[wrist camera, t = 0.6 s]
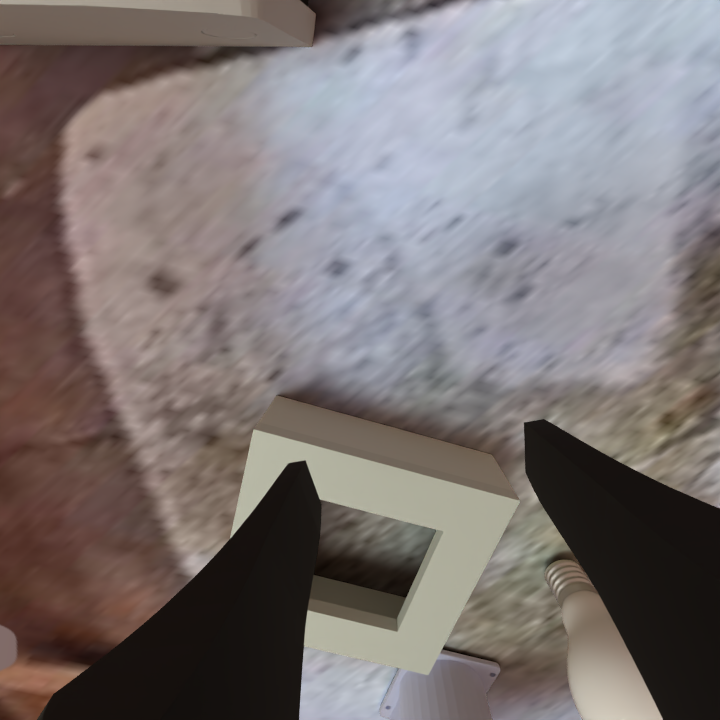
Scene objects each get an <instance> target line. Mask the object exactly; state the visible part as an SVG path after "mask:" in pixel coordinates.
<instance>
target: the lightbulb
mask: <svg viewBox="0 0 720 720" xmlns="http://www.w3.org/2000/svg"><path fill="white" fill-rule="evenodd" d="M544 577H545V580H546V581H547V584H548V585H549V587H550V589H551V591H552V592H553V595H554V596H555V598H556V600H557V602H558V604H559V606H560V608H561V610H562V619H563V623H564V626H565V629H566V632H567V636H568V651H567V676H568V682H569V687H570V691H571V694H572V697H573V700H574V703H575V705H576V708H577V710H578V712H579V714H580V716H581V718H582V720H663V718H662V716H661V714H660V712H659V710H658V708H657V706H656V704H655V702H654V700H653V698H652V696H651V694H650V692H649V690H648V688H647V686H646V684H645V682H644V680H643V678H642V676H641V674H640V672H639V670H638V668H637V666H636V664H635V662H634V660H633V658H632V656H631V654H630V653H629V651H628V649H627V647H626V645H625V643H624V641H623V639H622V637H621V635H620V633H619V631H618V629H617V627H616V626H615V624H614V622H613V620H612V618H611V616H610V614H609V613H608V611H607V609H606V607H605V605H604V603H603V601H602V600H601V598H600V596H599V594H598V592H597V590H596V589H595V588H594V587H593V585H592V583H591V582H590V581H589V579H588V577H587V576H586V575H585V573H584V571H583V570H582V568H581V567H580V565H579V564H578V563H576V562H574V561H572V560H558V561H555V562H553V563H552V564H550V565H549V566H548V567H547V569H546V571H545V574H544Z"/></svg>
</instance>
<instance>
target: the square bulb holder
mask: <svg viewBox="0 0 720 720" xmlns="http://www.w3.org/2000/svg"><path fill="white" fill-rule="evenodd" d="M304 460H306V463H307V466H308V469H309V471H310V474H311V477H312V480H313V482H314V485H315V488H316V491H317V493H318V496H319V499H320V500H324V501H328V502H332V503H336V504H339V505H343V506H347V507H351V508H355V509H359V510H363V511H366V512H370V513H374V514H378V515H382V516H386V517H389V518H393V519H397V520H401V521H405V522H409V523H413V524H416V525H420V526H424V527H428V528H432V529H436V530H437V531H436V533H435V535H434V537H433V539H432V542H431V544H430V546H429V548H428V551H427V553H426V555H425V557H424V559H423V562H422V564H421V566H420V568H419V571H418V573H417V575H416V577H415V579H414V582H413V584H412V586H411V588H410V591H409V593H408V595H407V597H406V598H405V597H401V596H397V595H393V594H389V593H385V592H381V591H377V590H373V589H369V588H365V587H361V586H357V585H353V584H349V583H345V582H341V581H337V580H333V579H328V578H324V577H320V576H316V575H313V581H312V587H311V593H310V599H309V604H308V611H307V618H306V626H305V638H304V646H306V647H310V648H314V649H318V650H323V651H327V652H331V653H336V654H340V655H344V656H348V657H353V658H357V659H361V660H365V661H370V662H374V663H378V664H382V665H387V666H391V667H395V668H399V669H404V670H408V671H412V672H416V673H421V674H425V675H429V673H430V671H431V669H432V667H433V665H434V663H435V662H436V660H437V658H438V656H439V654H440V652H441V650H442V648H443V646H444V645H445V643H446V641H447V639H448V637H449V635H450V633H451V631H452V629H453V627H454V626H455V624H456V622H457V620H458V618H459V616H460V614H461V612H462V610H463V609H464V607H465V605H466V603H467V601H468V599H469V597H470V595H471V593H472V591H473V590H474V588H475V586H476V584H477V582H478V580H479V578H480V576H481V574H482V573H483V571H484V569H485V567H486V565H487V563H488V561H489V559H490V557H491V555H492V554H493V552H494V550H495V548H496V546H497V544H498V542H499V540H500V538H501V537H502V535H503V533H504V531H505V529H506V527H507V525H508V523H509V521H510V519H511V518H512V516H513V514H514V512H515V510H516V508H517V506H518V504H519V502H520V500H519V498H518V496H517V495H516V493H515V491H514V490H513V488H512V487H511V485H510V483H509V482H508V480H507V478H506V477H505V475H504V474H503V472H502V470H501V469H500V467H499V465H498V464H497V462H496V461H495V459H494V457H493V456H492V454H488V453H484V452H481V451H477V450H473V449H470V448H466V447H463V446H459V445H455V444H452V443H448V442H444V441H441V440H437V439H434V438H430V437H426V436H423V435H419V434H415V433H412V432H408V431H404V430H401V429H397V428H394V427H390V426H386V425H383V424H379V423H375V422H372V421H368V420H365V419H361V418H357V417H354V416H350V415H346V414H343V413H339V412H336V411H332V410H328V409H325V408H321V407H317V406H314V405H310V404H306V403H303V402H299V401H296V400H292V399H288V398H285V397H281V396H276V397H275V399H274V400H273V402H272V403H271V404H270V406H269V407H268V409H267V410H266V412H265V413H264V415H263V416H262V418H261V419H260V421H259V422H258V424H257V425H256V427H255V428H254V430H253V435H252V439H251V444H250V449H249V453H248V458H247V462H246V467H245V472H244V476H243V481H242V486H241V490H240V495H239V500H238V504H237V509H236V513H235V518H234V523H233V527H232V532H231V537H232V536H233V535H234V534H235V532H236V531H237V530H238V529H239V527H240V526H241V525H242V524H243V523H244V521H245V520H246V519H247V518H248V516H249V515H250V514H251V513H252V511H253V510H254V509H255V507H256V506H257V505H258V504H259V502H260V501H261V500H262V498H263V497H264V496H265V494H266V493H267V491H268V490H269V489H270V487H271V486H272V485H273V483H274V482H275V480H276V479H277V478H278V476H279V475H280V474H281V472H282V471H283V470H284V468H285V467H286V466H287V464H288V463H292V462H298V461H304ZM231 537H230V538H231Z"/></svg>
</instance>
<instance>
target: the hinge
mask: <svg viewBox="0 0 720 720" xmlns="http://www.w3.org/2000/svg"><path fill="white" fill-rule="evenodd" d="M315 19H316V13H314V12H313V11H312V10H311V9H310V8H309V7H308V0H0V45H108V46H246V47H312V43H313V37H314V28H315Z"/></svg>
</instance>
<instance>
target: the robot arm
mask: <svg viewBox="0 0 720 720" xmlns="http://www.w3.org/2000/svg"><path fill="white" fill-rule="evenodd" d="M524 436H525V470H526V474H527V476H528V479H529V481H530V483H531V485H532V487H533V489H534V491H535V493H536V495H537V497H538V499H539V501H540V503H541V504H542V506H543V507H544V509H545V511H546V512H547V514H548V515H549V517H550V518H551V520H552V522H553V523H554V525H555V526H556V528H557V529H558V531H559V532H560V534H561V535H562V537H563V538H564V540H565V542H566V543H567V545H568V546H569V548H570V549H571V551H572V552H573V554H574V555H575V557H576V558H577V560H578V561H579V563H580V565H581V566H582V568H583V569H584V571H585V572H586V574H587V575H588V577H589V579H590V580H591V582H592V584H593V585H594V587H595V589H596V590H597V592H598V594H599V596H600V598H601V600H602V601H603V603H604V605H605V607H606V609H607V611H608V613H609V614H610V616H611V618H612V620H613V622H614V624H615V626H616V627H617V629H618V631H619V633H620V635H621V637H622V639H623V641H624V643H625V645H626V647H627V649H628V651H629V653H630V654H631V656H632V658H633V660H634V662H635V664H636V666H637V668H638V670H639V672H640V674H641V676H642V678H643V680H644V682H645V684H646V686H647V688H648V690H649V692H650V694H651V696H652V698H653V700H654V702H655V704H656V706H657V708H658V710H659V712H660V714H661V716H662V718H663V720H720V509H719V508H717V507H714V506H712V505H709V504H707V503H705V502H702V501H700V500H698V499H695V498H693V497H691V496H689V495H686V494H684V493H682V492H679V491H677V490H675V489H673V488H670V487H668V486H666V485H664V484H662V483H660V482H658V481H655V480H653V479H651V478H649V477H647V476H645V475H643V474H641V473H639V472H637V471H635V470H633V469H631V468H629V467H628V466H626V465H624V464H622V463H620V462H618V461H616V460H614V459H613V458H611V457H609V456H607V455H605V454H603V453H602V452H600V451H598V450H596V449H595V448H593V447H591V446H589V445H588V444H586V443H584V442H582V441H581V440H579V439H577V438H575V437H574V436H572V435H570V434H569V433H567V432H565V431H564V430H562V429H560V428H558V427H557V426H555V425H553V424H552V423H550V422H548V421H546V420H544V419H543V420H537V421H531V422H525V423H524ZM320 527H321V502H320V499H319V496H318V493H317V491H316V488H315V485H314V482H313V480H312V477H311V474H310V471H309V469H308V466H307V463H306V460H304V461H298V462H292V463H288V464H287V466H286V467H285V468H284V470H283V471H282V472H281V474H280V475H279V476H278V478H277V479H276V480H275V482H274V483H273V485H272V486H271V487H270V489H269V490H268V491H267V493H266V494H265V496H264V497H263V498H262V500H261V501H260V502H259V504H258V505H257V506H256V507H255V509H254V510H253V511H252V513H251V514H250V515H249V516H248V518H247V519H246V520H245V521H244V523H243V524H242V525H241V526H240V527H239V529H238V530H237V531H236V532H235V534H234V535H233V536H232V537H231V538H230V540H229V541H228V542H227V543H226V544H225V545H224V547H223V548H222V549H221V550H220V551H219V552H218V553H217V554H216V555H215V556H214V558H213V559H212V560H211V561H210V562H209V563H208V564H207V565H206V566H205V567H204V568H203V569H202V570H201V571H200V572H199V573H198V574H197V575H196V576H195V577H194V578H193V579H192V580H191V581H190V582H189V583H188V584H187V585H186V586H185V587H184V588H183V589H182V590H180V591H179V592H178V593H177V594H176V595H175V596H174V597H173V598H172V599H171V600H170V601H169V602H168V603H167V604H166V605H165V606H163V607H162V608H161V609H160V610H159V611H158V612H157V613H156V614H154V615H153V616H152V617H151V618H150V619H149V620H148V621H146V622H145V623H144V624H143V625H142V626H141V627H139V628H138V629H137V630H136V631H135V632H133V633H132V634H131V635H130V636H129V637H127V638H126V639H125V640H124V641H122V642H121V643H120V644H119V645H118V646H116V647H115V648H114V649H113V650H111V651H110V652H109V653H108V654H106V655H105V656H104V657H102V658H101V659H100V660H98V661H97V662H96V663H94V664H93V665H92V666H90V667H89V668H88V669H86V670H85V671H84V672H82V673H81V674H80V675H79V676H77V677H76V678H75V679H73V680H72V681H71V682H69V683H68V684H67V685H65V686H64V687H63V688H61V689H60V690H58V691H57V692H56V693H54V694H53V696H52V697H51V699H50V700H49V702H48V703H47V705H46V706H45V708H44V710H43V711H42V713H41V714H40V716H39V717H38V719H37V720H299V708H300V693H301V677H302V662H303V650H304V638H305V626H306V618H307V611H308V604H309V599H310V593H311V587H312V581H313V575H314V569H315V563H316V557H317V551H318V545H319V538H320ZM500 671H501V670H500V667H499V664H498V663H496V662H492V661H488V660H484V659H480V658H476V657H471V656H467V655H463V654H459V653H455V652H451V651H446V650H441V652H440V654H439V656H438V658H437V660H436V662H435V663H434V665H433V667H432V669H431V671H430V673H429V675H425V674H421V673H416V672H412V671H408V670H404V669H398V671H397V673H396V675H395V677H394V679H393V681H392V683H391V686H390V688H389V690H388V692H387V694H386V696H385V698H384V700H383V702H382V704H381V706H380V709H379V714H380V716H382V717H384V718H389V719H390V720H492V716H491V712H490V709H489V705H488V701H487V697H486V694H487V692H488V691H489V689H490V687H491V686H492V684H493V683H494V681H495V679H496V678H497V676H498V675H499V673H500Z"/></svg>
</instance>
